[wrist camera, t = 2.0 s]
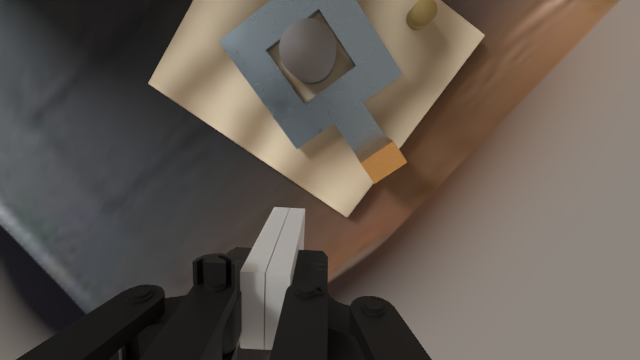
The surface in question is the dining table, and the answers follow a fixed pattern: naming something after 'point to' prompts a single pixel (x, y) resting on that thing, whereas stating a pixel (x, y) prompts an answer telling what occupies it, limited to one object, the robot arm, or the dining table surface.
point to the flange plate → (338, 98)
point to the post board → (329, 148)
